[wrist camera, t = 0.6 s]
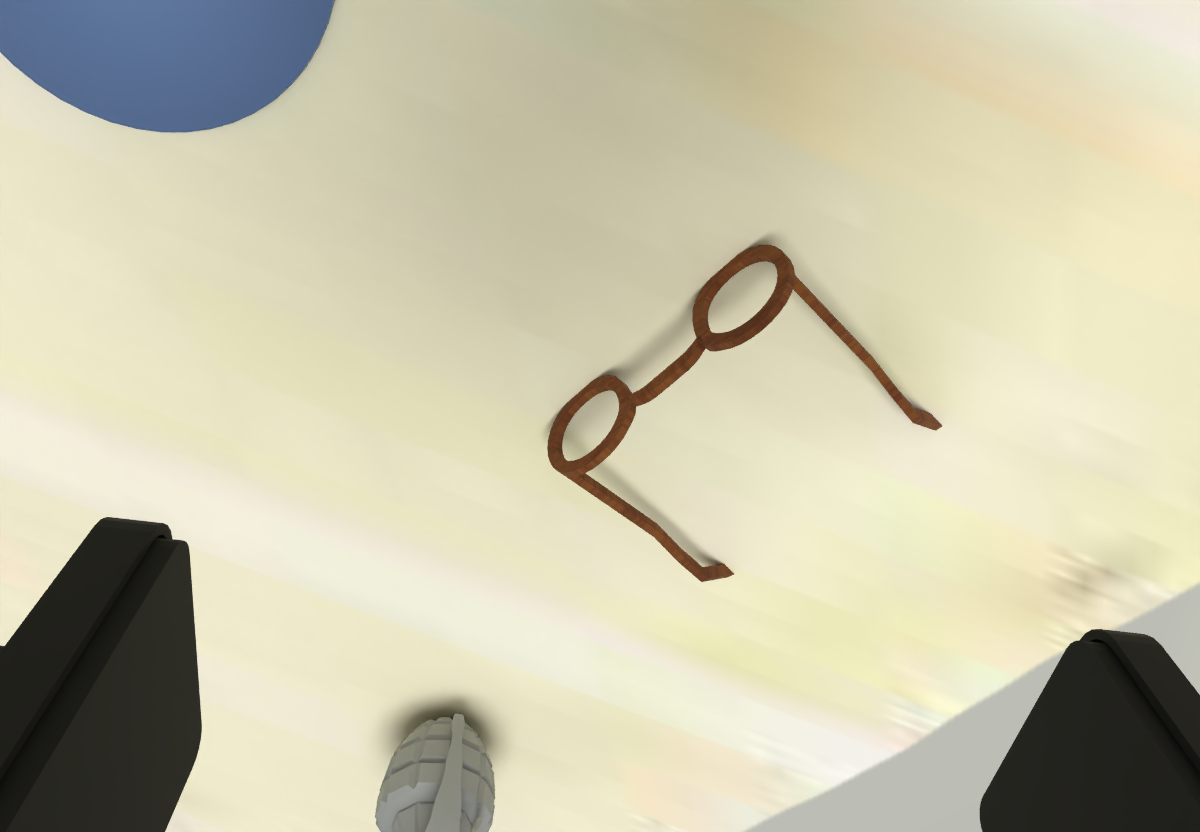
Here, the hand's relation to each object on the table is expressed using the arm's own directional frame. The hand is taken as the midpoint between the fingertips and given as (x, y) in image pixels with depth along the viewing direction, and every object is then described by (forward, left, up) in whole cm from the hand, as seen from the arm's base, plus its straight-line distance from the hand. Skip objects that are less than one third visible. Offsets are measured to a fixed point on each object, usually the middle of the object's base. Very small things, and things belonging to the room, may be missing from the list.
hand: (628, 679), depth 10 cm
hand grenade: (+28, +20, -29) cm, 45 cm away
